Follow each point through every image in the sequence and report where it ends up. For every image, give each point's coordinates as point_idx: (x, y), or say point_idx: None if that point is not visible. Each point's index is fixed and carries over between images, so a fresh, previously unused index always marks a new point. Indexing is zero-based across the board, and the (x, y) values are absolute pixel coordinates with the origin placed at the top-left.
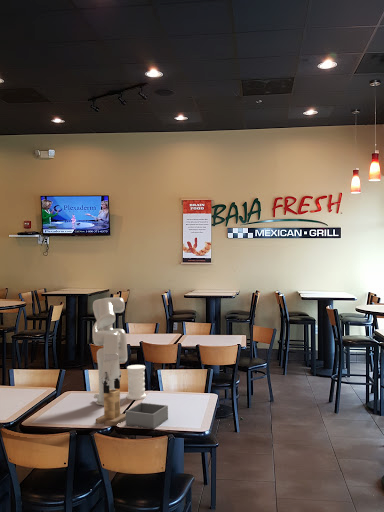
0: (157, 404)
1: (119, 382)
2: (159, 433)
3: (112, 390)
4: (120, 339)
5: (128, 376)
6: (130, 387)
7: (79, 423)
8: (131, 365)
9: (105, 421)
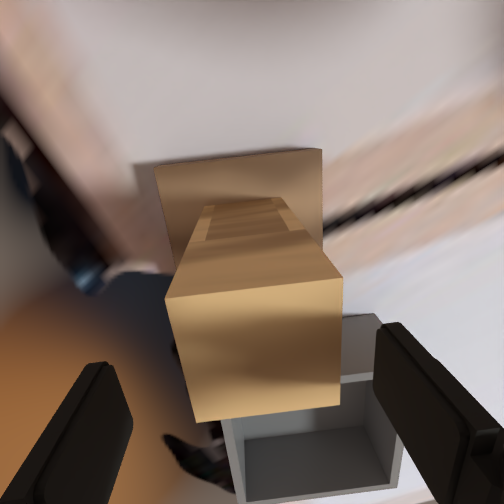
0: (401, 449)
1: (438, 488)
2: (211, 468)
3: (298, 342)
4: None
5: None
6: None
7: (85, 54)
8: None
9: (171, 242)
